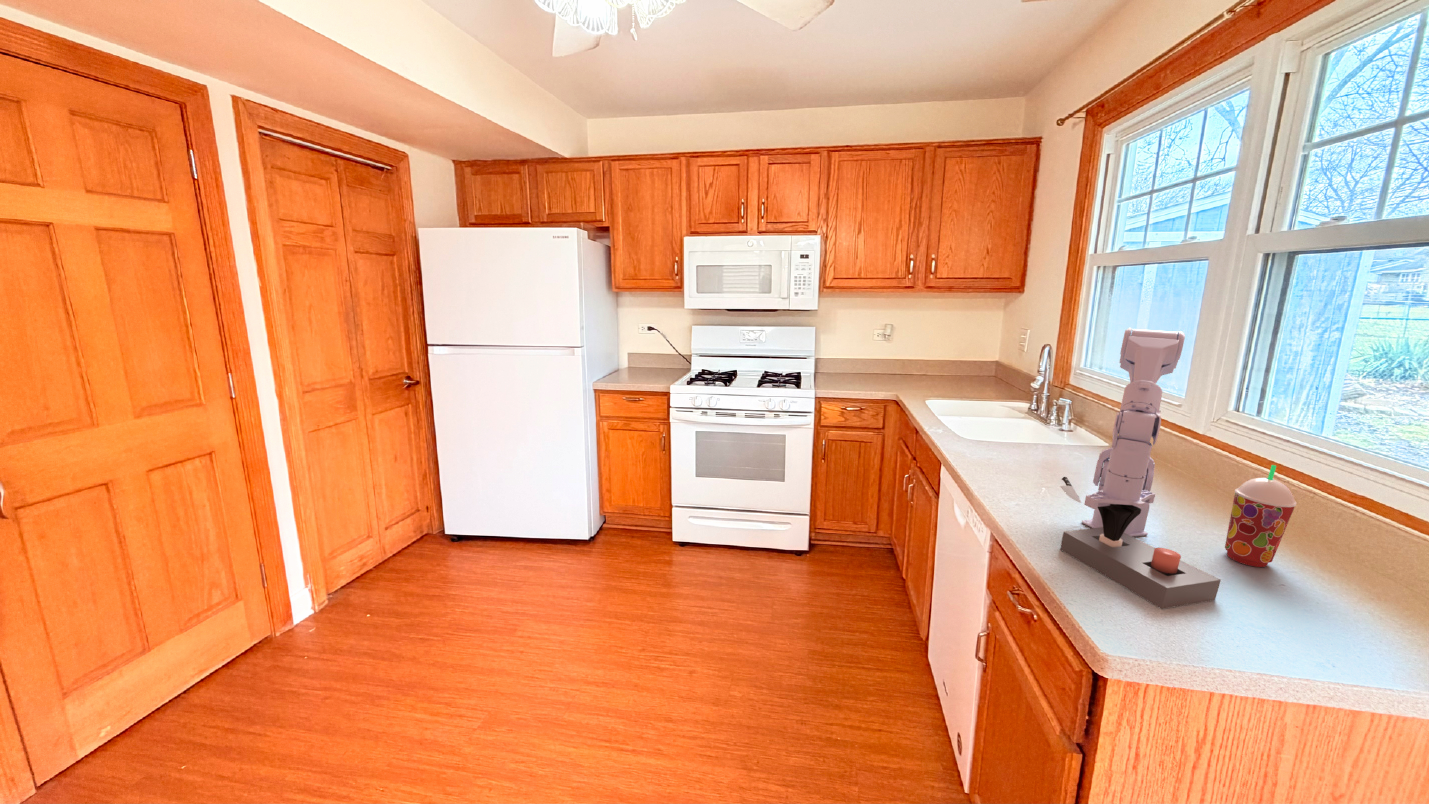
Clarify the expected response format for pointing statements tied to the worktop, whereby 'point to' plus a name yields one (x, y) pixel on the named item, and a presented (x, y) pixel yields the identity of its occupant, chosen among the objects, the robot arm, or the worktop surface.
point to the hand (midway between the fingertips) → (1111, 538)
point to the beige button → (1110, 541)
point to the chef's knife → (1070, 490)
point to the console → (1140, 569)
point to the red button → (1165, 560)
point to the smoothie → (1258, 520)
